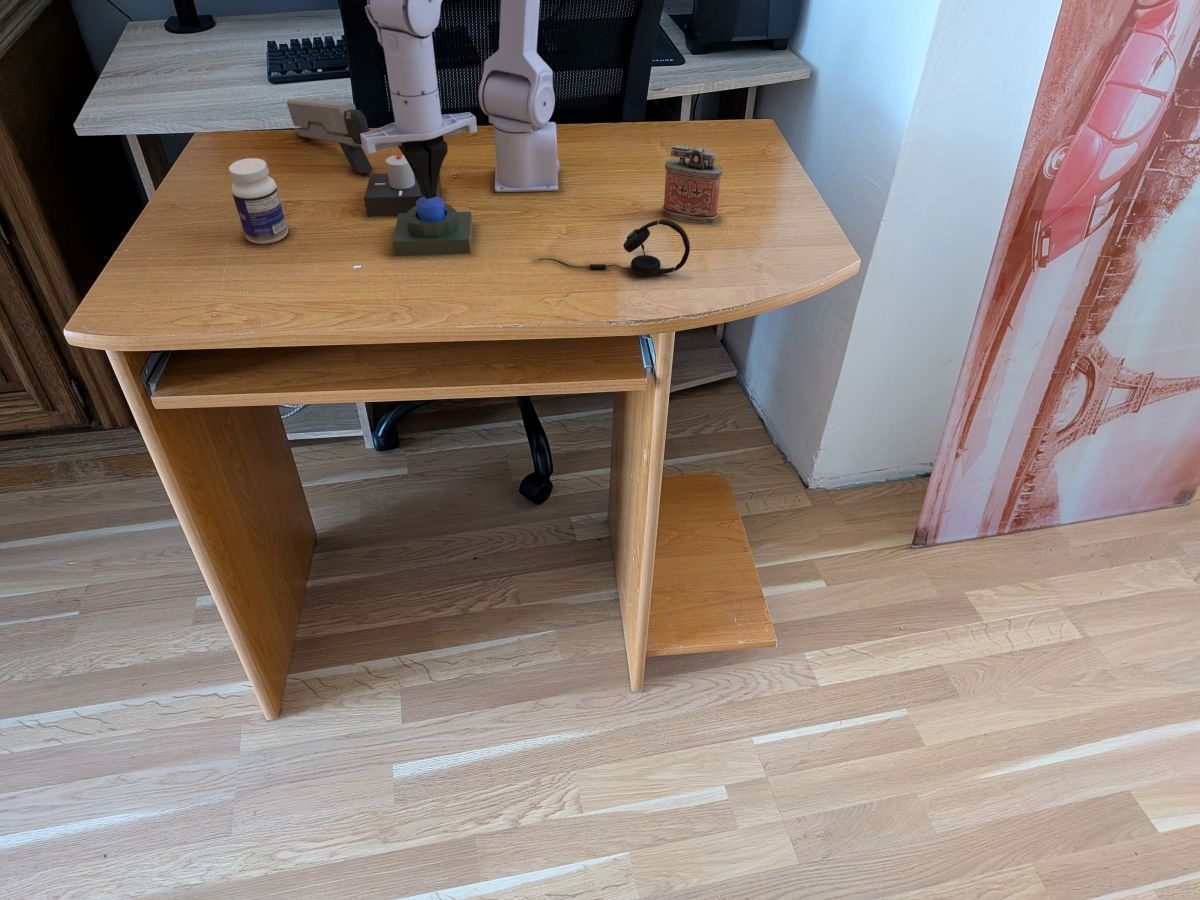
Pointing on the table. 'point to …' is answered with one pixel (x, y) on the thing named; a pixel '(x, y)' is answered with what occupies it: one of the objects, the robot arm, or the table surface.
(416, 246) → the switch box
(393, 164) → the dimmer knob
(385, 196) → the dimmer console
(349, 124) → the gun
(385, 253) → the table surface
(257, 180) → the pill bottle
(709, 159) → the lighter
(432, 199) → the power button
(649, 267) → the headset
